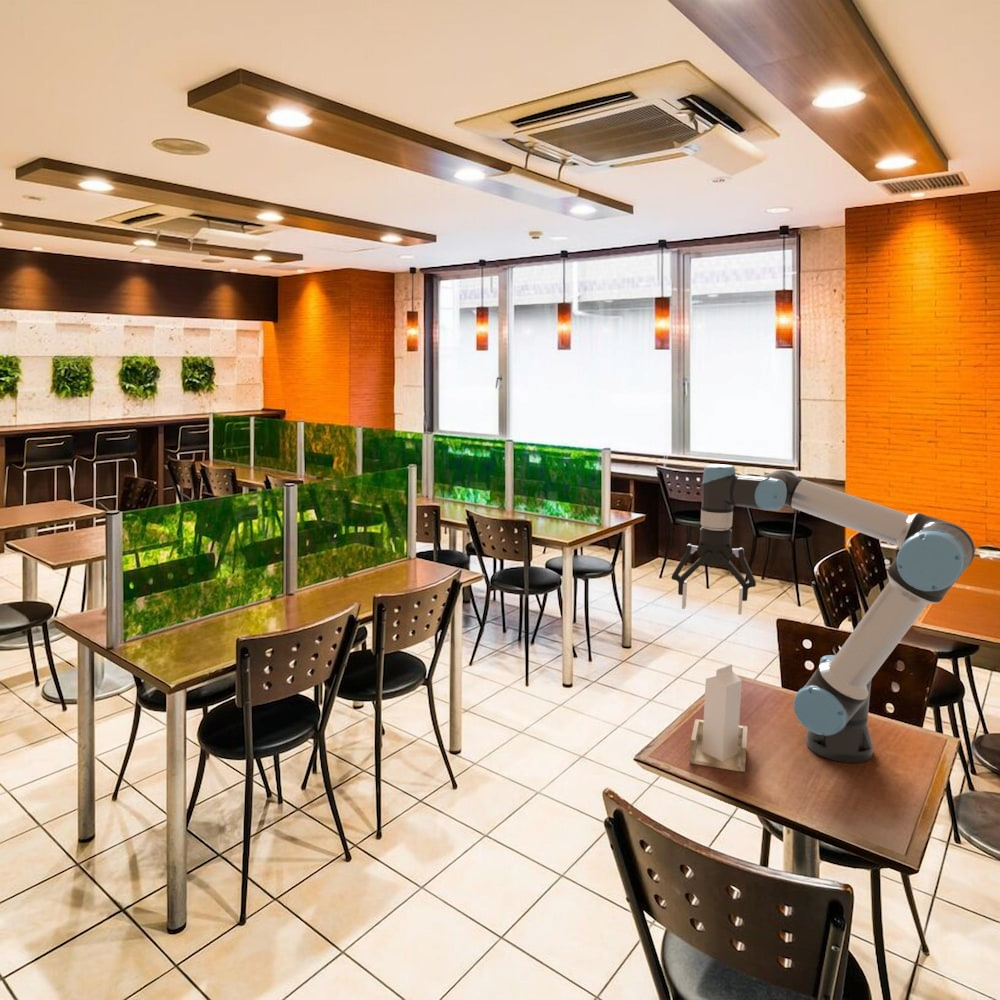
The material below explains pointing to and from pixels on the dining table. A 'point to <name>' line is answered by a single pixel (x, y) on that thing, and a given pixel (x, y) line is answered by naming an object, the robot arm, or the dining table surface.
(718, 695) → the milk
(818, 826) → the dining table surface
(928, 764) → the dining table surface
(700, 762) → the u rest
